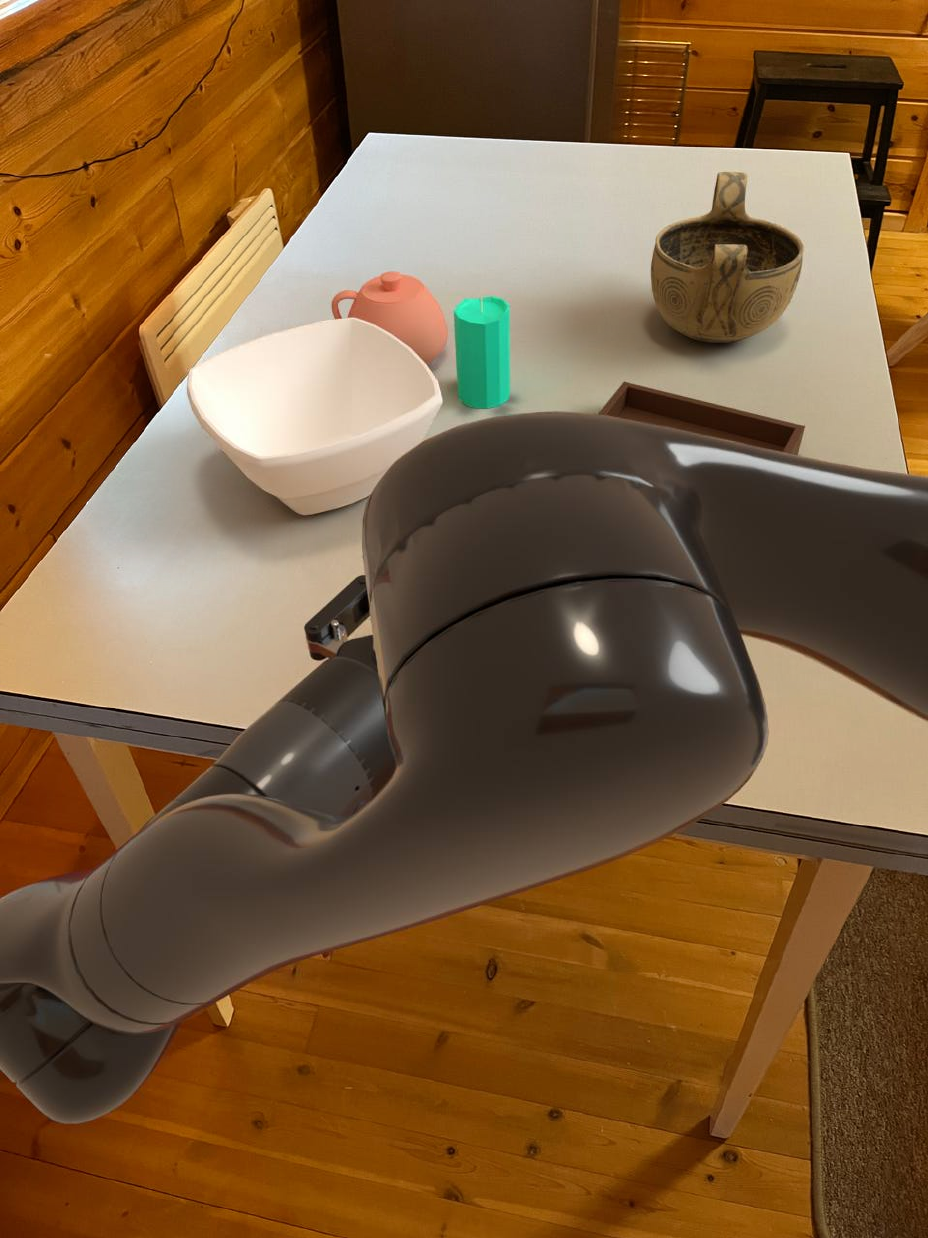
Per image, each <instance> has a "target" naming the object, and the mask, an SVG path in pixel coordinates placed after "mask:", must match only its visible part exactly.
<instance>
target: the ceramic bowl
mask: <svg viewBox="0 0 928 1238" xmlns="http://www.w3.org/2000/svg"><path fill="white" fill-rule="evenodd" d="M747 183H748V174H747V173H746V172H735V171H720V172H719V171H718V173H717V175H716V180H715V186H714V190H713V191H714V192H713V198H712V205H711V210H710V211H709V212H707V213H706V214H704V215H700V216H696V217H689V218H686V219H683V220H679V221H676V222H674V223H671V224H668V225H667V226H665V227H663V228H662V229H661V230H660V231H659V232H658V233H657V235H656V237H655V244H654V247H653V251H652V257H651V263H650V283H651V293H652V295H653V296H652V297H653V300H654V304H655V306H656V309H657V310H658V312H659V313H660V315H661V316H662V318H663V319H664V320H665V322H666V323H667V324H668V325H669V327H671V328H672V329H674V330H675V331H676V332H679V333H680V334H681V335H682V336H686V337H687V338H688V337H689V338H690V339H693V340H695V341H700V342H705V343H719V344H720V343H731V342H736V341H742V340H744V339H747V338H750V337H753V336H755V335H757V334H759V333H761V332H762V331H764V330H766V329H768V328H769V327H770V326H772V325H773V324H775V322H777V321H778V320H779V318H780V317H782V315H783V314H784V312H785V311H786V310H787V308H788V307H789V306H790V304H791V301H792V299H793V297H794V294H795V293H796V290H797V287H798V283H799V280H800V277H801V274H802V273H801V272H802V268H803V267H802V266H803V260H804V259H803V258H804V251H805V250H804V249H805V246H804V243H803V242H802V240H801V239H800V237H799V236H798V235H796V234H795V233H794V232H792V231H791V230H789V229H788V228H786V227H783V226H781V225H779V224H777V223H774V222H773V223H772V222H771V221H767V220H764V219H759V218H755V217H751V216H750V215H749V214H748V213H747V211H746V193H747Z"/></svg>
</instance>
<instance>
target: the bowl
mask: <svg viewBox="0 0 928 1238" xmlns="http://www.w3.org/2000/svg"><path fill="white" fill-rule="evenodd" d="M186 396H187V399H188V402H189V406H190V409H191V411H192V413H193V415H194V417H195V418H196V420H197V422H198V424H199V425H200V427H201V429H202V431H204V432H205V433H206V434H207V436H209V437H210V439H211V440H213V442H214V443H215V444H216V445H217V446H218V447H219V448H220V449H221V451H222V452H223V453H225V455H226V456H227V457H228V458H229V459H230V460H231V461H232V462H233V463H234V464H235V465H236V467H237V468H238V469H239V470H240V471H241V472H242V473H243V474H244V475H245V476H246V477H247V478H248V479H249V481H251V482H253V483H254V484H255V485H256V486H257V487H259V488H260V489H261V490H263V492H266V493H268V494H270V495H272V496H274V497H276V498H277V499H278V500H279V501H280V502H281V503H283V504H284V505H285V506H287V507H288V508H290V509H291V510H292V511H293V512H294V513H297V514H299V515H301V516H308V515H316V514H320V513H324V512H328V511H332V510H336V509H339V508H342V507H345V506H348V505H351V504H354V503H356V502H359V501H361V500H363V499H365V498H368V497H370V495H371V493H372V491H373V489H374V487H375V484H376V482H377V481H378V480H379V478H380V477H381V476H382V475H383V474H384V473H385V472H386V470H387V469H388V468H389V467H390V466H391V465H392V464H393V463H394V462H395V461H396V460H397V459H398V458H399V457H400V456H402V455H403V454H405V453H406V452H408V451H409V450H411V449H412V448H413V447H415V446H416V445H418V444H419V443H421V442H422V441H424V440H425V437H426V435H427V433H428V431H429V430H430V427H431V425H432V423H433V422H434V420H435V418H436V416H437V414H438V412H439V410H440V409H441V407H442V404H443V402H444V399H443V395H442V392H441V388H440V384H439V381H438V379H437V377H436V376H435V375H434V373H433V372H432V370H431V369H430V367H429V366H428V364H427V365H426V364H425V363H424V361H423V360H422V359H421V358H420V357H419V356H418V355H417V354H416V353H415V352H414V351H413V350H412V349H411V348H410V347H409V346H407V345H406V344H405V343H403V342H402V341H400V340H399V339H398V338H396V337H395V336H394V335H392V334H391V333H389V332H387V331H385V330H384V329H382V328H380V327H378V326H377V325H374V324H371V323H369V322H366V321H363V320H360V319H357V318H348V317H345V318H343V317H342V319H335V318H334V319H328V320H321V321H317V322H313V323H307V324H303V325H300V326H295V327H292V328H288V329H283V330H279V331H275V332H273V333H269V334H266V335H263V336H261V337H258V338H255V339H251V340H249V341H246V342H243V343H239V344H238V345H236V346H233V347H230V348H228V349H226V350H224V351H221V352H219V353H216V354H214V355H212V356H210V357H208V358H206V359H205V360H203V361H201V362H199V363H197V364H196V365H194V366H192V367H191V368H190V369H189V371H188V374H187V383H186Z"/></svg>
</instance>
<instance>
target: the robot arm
mask: <svg viewBox="0 0 928 1238" xmlns="http://www.w3.org/2000/svg"><path fill="white" fill-rule="evenodd" d="M361 531H362V532H361V533H362V534H361V550H362V562H363V568H364V569H363V570H364V574H361V575H358V576H356V577H355V578H354V579H353V580H352V581H350V583H348V585H346V586H345V587H344V588H343V589H342V590H341V591H340V592H339V593H338V594H336V596H334V597H333V598H332V599H331V600H330V601H329V602H328V603H326V604H325V605H324V606H323V607H322V608H321V609H320V610H319V611H318V612H317V613H316V614H314V616H313V617H311V618H310V619H309V620H308V621H307V622H306V623H305V624H304V626H303V630H304V634H305V641H306V644H307V649H308V652H309V656H310V658H311V659H312V660H314V661H318V662H320V661H323V662H321V663H320V664H319V665H318V666H317V667H316V668H314V670H312V671H311V672H310V673H309V674H307V675H306V677H304V678H303V679H302V680H301V681H299V682H298V683H297V684H296V685H295V686H294V687H292V688H291V689H290V690H289V691H288V692H287V693H285V694H284V695H283V696H282V697H281V698H280V699H279V700H278V701H276V702H275V703H274V704H273V705H272V706H271V707H270V708H269V709H268V710H266V711H265V712H264V713H263V714H261V715H260V716H259V717H258V718H257V719H256V720H254V722H252V723H251V724H250V725H249V726H248V727H246V728H245V730H243V731H242V732H241V733H240V734H239V735H238V736H237V737H236V738H235V739H234V740H233V742H231V743H230V744H229V746H228V747H227V748H226V750H225V751H224V752H223V753H222V754H221V755H220V756H219V758H218V759H217V760H216V761H214V762H213V763H212V764H211V766H209V767H208V768H206V769H205V770H204V771H203V772H202V773H201V774H200V775H199V776H197V777H196V778H195V779H194V780H193V781H191V782H190V783H189V784H188V785H187V786H186V787H185V788H184V789H182V790H181V791H180V792H179V793H178V794H177V795H176V796H175V797H173V798H172V799H171V800H170V801H169V802H168V803H167V804H165V805H164V806H163V807H162V808H161V809H160V810H159V811H158V812H157V813H156V814H154V815H153V816H152V817H151V818H150V819H149V820H147V821H146V822H145V823H144V825H143V826H142V827H141V828H140V829H139V830H138V831H137V832H136V833H135V834H134V835H133V836H132V837H130V838H129V839H128V840H127V841H126V842H124V843H123V844H122V845H121V846H120V847H118V848H117V849H116V850H115V851H113V853H111V854H110V855H109V856H108V857H107V858H105V859H104V860H103V861H102V862H101V863H100V864H98V865H97V866H95V867H92V868H88V869H84V870H77V871H72V872H67V873H62V874H58V875H54V876H50V877H47V878H43V879H41V880H38V881H35V882H32V883H29V884H26V885H24V886H21V887H20V888H17V889H15V890H13V891H11V892H10V893H8V894H5V895H4V896H3V897H1V898H0V1071H1V1072H2V1073H4V1075H5V1076H6V1077H7V1078H8V1079H9V1080H10V1081H11V1082H12V1083H15V1084H16V1085H15V1086H16V1088H17V1089H18V1090H19V1091H20V1092H21V1094H23V1095H24V1096H25V1097H26V1098H27V1099H28V1100H29V1101H30V1102H31V1103H32V1104H33V1105H34V1106H35V1108H36V1109H38V1111H40V1112H41V1113H42V1114H43V1115H44V1116H45V1117H47V1118H48V1119H49V1120H51V1121H53V1122H55V1123H57V1124H59V1125H60V1124H61V1125H80V1124H85V1123H90V1122H92V1121H94V1120H97V1119H100V1118H103V1117H105V1116H107V1115H108V1114H110V1113H112V1112H114V1111H115V1110H117V1109H119V1108H120V1107H121V1106H122V1105H124V1104H125V1103H126V1102H127V1101H129V1100H130V1099H131V1098H132V1097H133V1096H134V1095H135V1094H136V1093H138V1091H139V1090H140V1089H141V1088H142V1087H143V1086H144V1084H145V1083H146V1082H147V1081H148V1079H149V1078H150V1076H152V1074H153V1072H154V1070H155V1069H156V1067H157V1066H158V1065H159V1063H160V1061H161V1059H162V1058H163V1056H164V1055H165V1054H166V1052H167V1050H168V1048H169V1047H170V1045H171V1043H172V1041H173V1039H174V1037H175V1036H176V1034H177V1032H178V1031H179V1029H180V1027H181V1024H182V1023H183V1021H185V1020H188V1019H189V1018H191V1017H192V1016H194V1015H196V1014H198V1013H199V1012H201V1011H203V1010H205V1009H207V1008H208V1007H210V1006H212V1005H214V1004H216V1003H218V1002H219V1001H222V1000H223V999H225V998H226V997H228V996H230V995H232V994H233V993H235V992H237V991H239V990H240V989H242V988H244V987H245V986H247V985H249V984H250V983H252V982H255V981H257V980H259V979H261V978H263V977H265V976H267V975H269V974H271V973H273V972H275V971H278V970H280V969H283V968H286V967H287V966H291V965H293V964H296V963H298V962H301V961H304V960H307V959H310V958H313V957H317V956H320V955H323V954H326V953H330V952H333V951H337V950H341V949H344V948H347V947H350V946H355V945H358V944H361V943H364V942H368V941H372V940H376V939H378V938H382V937H385V936H388V935H393V934H396V933H400V932H402V931H406V930H408V929H412V928H415V927H418V926H422V925H425V924H428V923H431V922H435V921H438V920H442V919H444V918H448V917H450V916H453V915H456V914H459V913H463V912H465V911H468V910H472V909H474V908H477V907H481V906H483V905H487V904H490V903H493V902H496V901H500V900H502V899H505V898H509V897H512V896H515V895H518V894H520V893H521V894H522V893H524V892H527V891H530V890H533V889H537V888H540V887H542V886H546V885H548V884H551V883H554V882H557V881H560V880H563V879H566V878H570V877H572V876H575V875H578V874H582V873H584V872H587V871H590V870H592V869H596V868H598V867H601V866H603V865H606V864H609V863H611V862H615V861H617V860H619V859H622V858H625V857H627V856H629V855H632V854H634V853H637V852H639V851H642V850H644V849H646V848H649V847H650V846H654V845H655V844H658V843H660V842H662V841H664V840H665V839H667V838H669V837H672V836H674V835H675V834H677V833H679V832H681V831H683V830H685V829H687V828H689V827H691V826H692V825H693V824H695V823H697V822H698V821H700V820H702V819H704V817H706V816H707V815H709V814H711V813H712V812H713V811H714V810H717V809H718V808H720V806H722V805H724V804H725V803H727V802H728V801H729V800H730V799H731V798H733V797H734V796H735V795H736V794H737V793H739V791H741V789H742V788H743V787H744V786H745V785H746V784H747V783H748V782H749V781H750V779H751V778H752V777H753V775H754V773H755V772H756V770H757V769H758V767H759V765H760V764H761V762H762V759H763V757H764V755H765V752H766V749H767V748H768V745H769V736H770V735H769V734H770V729H769V720H768V718H769V717H768V714H767V713H768V712H767V706H766V702H765V698H764V694H763V692H762V691H763V690H762V688H761V684H760V682H759V679H758V676H757V673H756V671H755V669H754V665H753V663H752V660H751V657H750V654H749V652H748V649H747V646H746V644H745V641H744V639H743V637H746V638H752V639H754V640H758V641H762V642H766V643H769V644H772V645H776V646H778V647H781V648H784V649H786V650H789V651H792V652H794V653H797V654H799V655H801V656H804V657H806V658H808V659H809V660H812V661H813V662H816V663H818V664H820V665H821V666H824V667H826V668H827V669H830V670H832V671H833V672H835V673H837V674H839V675H841V676H842V677H845V678H846V679H848V680H850V681H851V682H854V683H855V684H857V685H859V686H860V687H863V688H865V689H866V690H868V691H870V692H872V693H873V694H875V695H877V696H878V697H879V698H880V697H881V698H882V699H883V700H885V701H886V702H889V703H891V704H892V705H895V706H896V707H898V708H899V709H902V710H903V711H905V712H907V713H909V715H912V716H915V717H916V718H918V719H920V720H922V721H924V722H926V723H928V475H920V474H912V473H904V472H903V473H902V472H894V471H888V470H879V469H871V468H865V467H859V466H854V465H847V464H843V463H838V462H837V463H836V462H832V461H827V460H822V459H817V458H812V457H807V456H802V455H798V454H797V455H793V454H788V453H784V452H779V451H775V450H770V449H766V448H761V447H757V446H752V445H748V444H743V443H738V442H734V441H729V440H725V439H720V438H716V437H712V436H707V435H703V434H698V433H694V432H689V431H685V430H681V429H676V428H672V427H667V426H663V425H658V424H652V423H647V422H641V421H635V420H630V419H624V418H619V417H613V416H606V415H600V414H598V413H592V412H591V413H590V412H579V411H561V410H560V411H559V410H557V411H555V410H553V411H552V410H551V411H534V412H522V413H521V412H520V413H509V414H499V415H496V416H492V417H487V418H483V419H479V420H474V421H470V422H466V423H463V424H459V425H456V426H454V427H451V428H449V429H447V430H444V431H442V432H440V433H437V434H434V435H432V436H430V437H428V438H425V439H423V441H422V442H421V443H419V444H418V445H416V446H415V447H413V448H412V449H411V450H409V451H408V452H406V453H405V454H403V455H402V456H400V457H399V458H398V459H397V460H396V461H395V462H394V463H393V464H392V465H391V466H390V467H389V468H388V469H387V470H386V472H385V473H384V474H383V475H382V476H381V477H380V478H379V480H378V481H377V482H376V484H375V487H374V489H373V491H372V493H371V495H369V496H368V499H367V501H366V504H365V508H364V511H363V517H362V529H361ZM369 617H370V625H371V631H372V634H368V635H363V636H360V637H355V638H352V639H348V638H349V637H350V636H351V635H352V634H353V633H354V632H355V631H356V630H357V629H358V628H359V627H360V626H362V625H363V623H364V622H365V621H366V620H367V619H369Z"/></svg>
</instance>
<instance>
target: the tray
mask: <svg viewBox="0 0 928 1238" xmlns="http://www.w3.org/2000/svg"><path fill="white" fill-rule="evenodd" d="M597 414H600V415H606V416H613V417H619V418H624V419H630V420H635V421H641V422H647V423H652V424H658V425H663V426H667V427H672V428H676V429H681V430H685V431H689V432H694V433H698V434H703V435H707V436H712V437H716V438H720V439H725V440H729V441H734V442H738V443H743V444H748V445H752V446H757V447H761V448H766V449H770V450H775V451H779V452H784V453H788V454H793V455H798V454H799V452H800V448H801V444H802V440H803V437H804V432H805V429H806V426H805V425H802V424H799V423H798V424H797V423H794V422H789V421H786V420H782V419H778V418H773V417H769V416H766V415H761V414H758V413H753V412H748V411H744V410H741V409H737V408H734V407H728V406H725V405H720V404H716V403H713V402H708V401H704V400H700V399H697V398H692V397H689V396H684V395H680V394H676V393H672V392H668V391H664V390H660V389H656V388H651V387H647V386H644V385H640V384H635V383H631V382H628V381H623V382H622V383H621V384H620V386H619V387H618V388H617V389H616V390H615V392H614V393H613V394H612V396H611V397H610V398H609V400H607V402H606V403H605V404H604V405H603V407H602V408H601V410H600V411H599V412H598V413H597Z"/></svg>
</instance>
